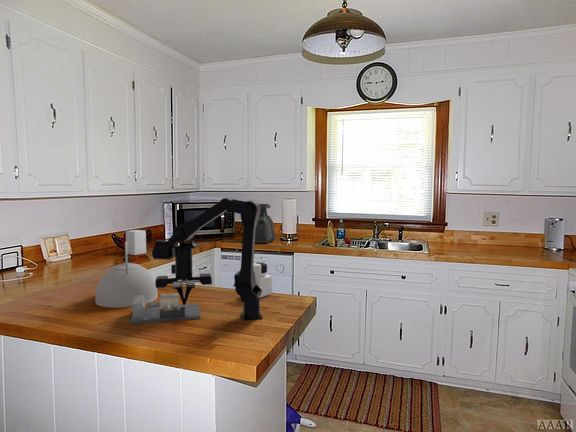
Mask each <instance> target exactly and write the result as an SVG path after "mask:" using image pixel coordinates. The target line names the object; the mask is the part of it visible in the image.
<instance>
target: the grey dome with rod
mask: <svg viewBox="0 0 576 432" xmlns="http://www.w3.org/2000/svg"><path fill="white" fill-rule="evenodd" d="M130 260H131V257H130V256H129V254H128V252H127V242H126V241H125V242H124V256H123V257H122V261H123V262H124V263H120V264H117V265H114V266H112V267H111V268H110V269H108V270H107V271H106V272H104V274H103V275H101V277H100V278H99V281H98V283H97V286H96V288H95V289H96V290H95V301H94V303H95V304H96V305H97V306H99V307H103V308H111V309H112V308H115V309H117V308H119V309H120V308H129V307H131V308H132V304H133V301H134V298H135V296H136V295H145V305H147V304H148V303H150V302H155V300H157V298H158V296H159V295H158V288H156V287H155V280H156V278H155V276H153V274H152V273H151V272H150V271H149V270H148V269H147V268H145V267H144V266H142V265H140V264H137V263H131V262H130Z"/></svg>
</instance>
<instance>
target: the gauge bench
mask: <svg viewBox="0 0 576 432" xmlns="http://www.w3.org/2000/svg"><path fill="white" fill-rule="evenodd" d="M131 308H132V311H131V312H132V316H131V318H130V323H129V324H130V325H138V324H149V323H160V322H162V323H163V322H172V321H174V322H175V321H184V320H196V319H197V320H198V319H201V311H200V306H199V302H198V303H197V302H196V303H186V304H185V305H183V303H181V304H179V307H178V308H172V307H170V308H169V309H168V307H167V308H164V309H160V307H148V306H146V304H145V295H136V296H135V298H134V301H133V304H132V306H131Z"/></svg>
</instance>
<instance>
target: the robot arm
mask: <svg viewBox="0 0 576 432" xmlns="http://www.w3.org/2000/svg"><path fill="white" fill-rule="evenodd" d="M260 204H261V203H259V202H258V201H256V200H248V201H246V200H245V201H244V200H239V199H238V200H237V199H234V198H233V199H232V198H230V197H224V198H222V199H220V200H219V202H217V203H214V204H213V206H211V207H209V208H208V209H206V210H205V211H204V212H201V214H199V215H198V216H197V215H196V217H194V218H193V219H191V220H188V221H186V222H183V223H181V224H178V225H176V226H174V228H172V229H173V230H172V233H171V234H172V235H171V236H170V238H169V239H168V240H162V239H156V240H155V241H154V245H153V248H152V251H151V256H152V258H153V259H154V260H163V261H164V260H165V261H172V260H173V258H174V259H175V260H174V261H175V262H174V263H175V264H171V265H170V266H171V270H170V271H171V274H172V275H175V277H171V278H169V276H168V275H158V276H156V277H155V287H156V288H157V289H158V288H159V289H160V288H161V289H162V288H166V287H167V286H168V284H171V285H172V286H173V287H172V289H173V290H176V291H177V294H178V296H179V298H180V300H181V302H182V303H181V304H183V305H185V304H187V301H188V298H189V296H190V293H191V291H192V289H195V288H196V283H200V284H201V285H202V286H206V285H207V286H208V285H212V284H213V278H212V275H211V274H210V273H200V274H199V276H193V249H196V248H198V247H199V245H198V244H197V243H196V242H195V241H194V240H191V239H193V238H194V237H195V236H196V235H197V234H198V233H199V231H200V230H201V229H202V228H203V227H204V226H207V224H209V223H210V222H212V221H213V220H215V219H217V218H218V217H220V216H221V215H222V214H224V213H226V212H227V211H229V212H232V213H236V214H240V220H241V224H242V244H241V257H240V258H241V259H240V270H238V271H237V272H236V273H235V274H234V277H233V278H234V284H233V286H232V287H234V290H235V292H236V293H237V295H238V296H239V298H240V300H241V303H242V312H240V315H241V318H242V319H243V320H244V321H249V320H250V321H251V320H260V319H263V315H262V314H261V308H260V307H261V297H260V298H259V296H260V295H261V293H262V289H261V288H260V287H259V286H258V285H257V284H256V279H255V273H254V269H253V263H255V262H254V259H255V247H256V246H255V244H256V243H255V231H256V226H257V223H258V220H259V216H260V212H261V206H260ZM189 240H191V241H189ZM186 241H189V242H186ZM179 243H180V244H179ZM183 284H185V291H184V289H183Z"/></svg>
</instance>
